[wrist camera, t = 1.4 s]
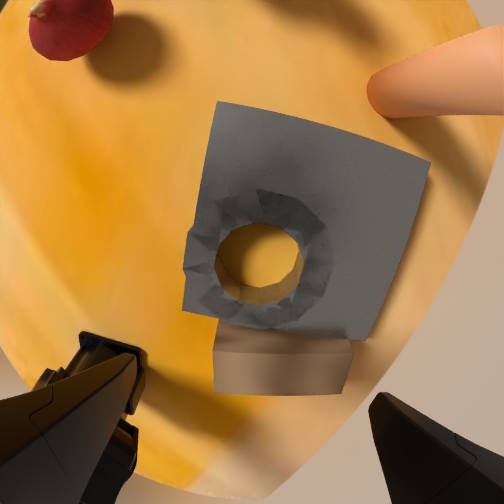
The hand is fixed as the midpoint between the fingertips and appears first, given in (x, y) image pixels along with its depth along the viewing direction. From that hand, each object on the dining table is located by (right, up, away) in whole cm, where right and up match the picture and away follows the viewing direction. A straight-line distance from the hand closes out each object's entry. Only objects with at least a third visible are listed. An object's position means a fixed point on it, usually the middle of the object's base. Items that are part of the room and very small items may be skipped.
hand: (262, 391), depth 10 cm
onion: (-12, +21, +6) cm, 25 cm away
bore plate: (+3, +7, +11) cm, 13 cm away
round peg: (+9, +16, +8) cm, 20 cm away
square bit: (+2, -3, +15) cm, 16 cm away
